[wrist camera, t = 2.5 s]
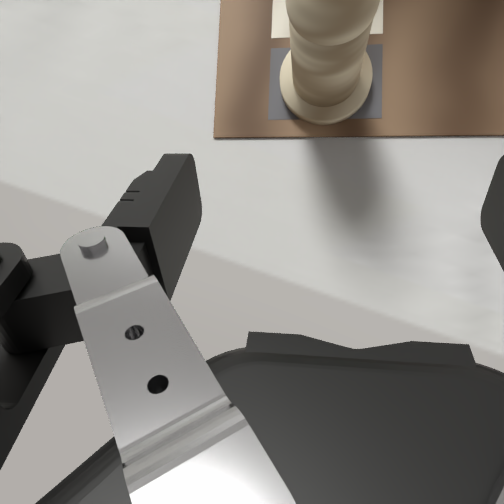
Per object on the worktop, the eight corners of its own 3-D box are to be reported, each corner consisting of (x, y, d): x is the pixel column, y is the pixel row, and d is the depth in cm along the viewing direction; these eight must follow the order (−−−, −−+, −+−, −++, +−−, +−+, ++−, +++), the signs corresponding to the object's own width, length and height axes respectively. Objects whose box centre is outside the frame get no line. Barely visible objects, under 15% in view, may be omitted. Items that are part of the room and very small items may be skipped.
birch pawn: (278, 125, 26) (262, 26, 16) (282, 41, 26) (267, -103, 17) (369, 124, 25) (409, 19, 15) (371, 38, 25) (410, -116, 16)
